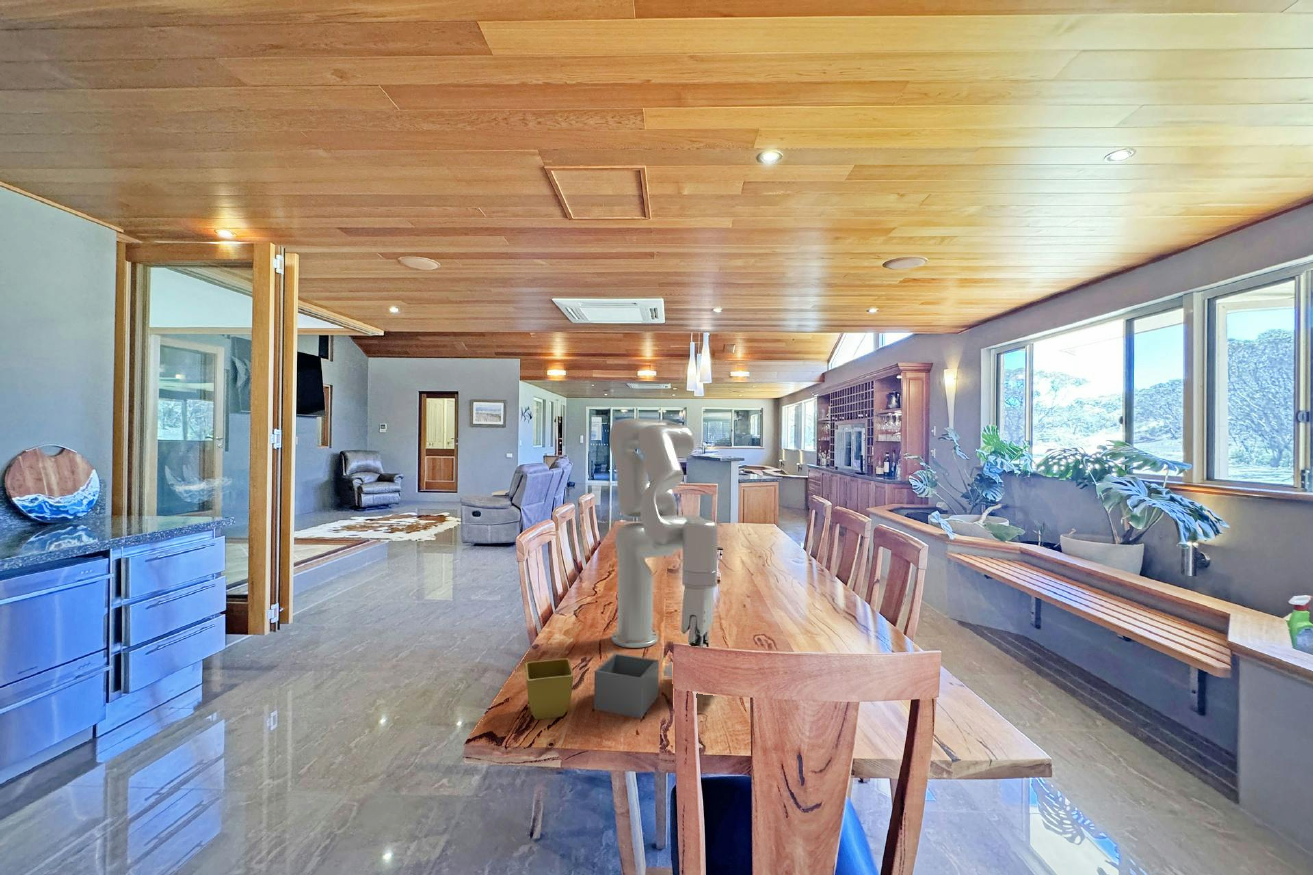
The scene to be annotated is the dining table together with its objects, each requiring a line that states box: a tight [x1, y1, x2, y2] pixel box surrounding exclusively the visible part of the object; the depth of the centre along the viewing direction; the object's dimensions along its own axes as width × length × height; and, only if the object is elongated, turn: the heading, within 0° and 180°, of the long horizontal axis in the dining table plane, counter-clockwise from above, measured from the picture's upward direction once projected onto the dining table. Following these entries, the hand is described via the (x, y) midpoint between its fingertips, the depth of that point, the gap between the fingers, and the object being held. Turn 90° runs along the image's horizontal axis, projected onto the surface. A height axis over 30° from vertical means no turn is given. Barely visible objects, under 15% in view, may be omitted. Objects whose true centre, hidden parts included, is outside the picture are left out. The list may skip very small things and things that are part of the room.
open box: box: [593, 653, 660, 719], centre depth 112 cm, size 10×10×8 cm
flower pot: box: [524, 657, 574, 720], centre depth 107 cm, size 9×9×9 cm
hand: (698, 662), depth 118 cm, fingers closed on lid, 3 cm apart
